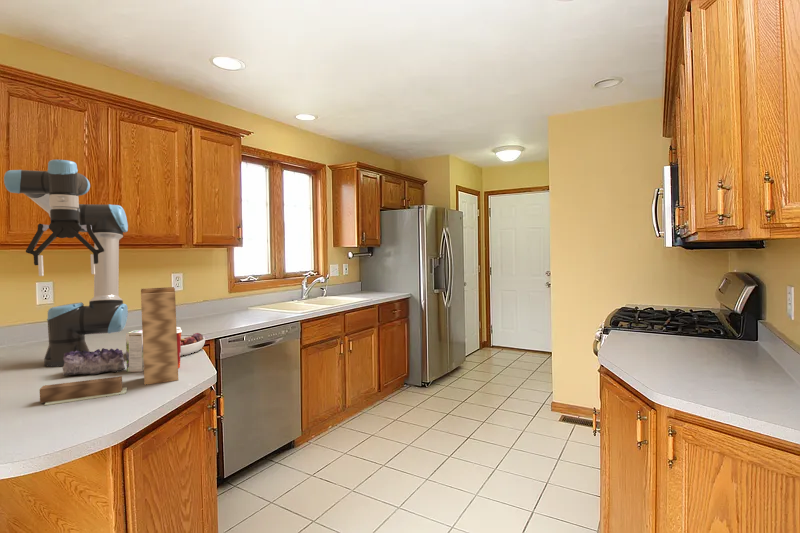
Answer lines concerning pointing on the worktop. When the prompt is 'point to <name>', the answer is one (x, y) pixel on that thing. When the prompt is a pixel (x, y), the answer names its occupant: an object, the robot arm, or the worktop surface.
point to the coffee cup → (178, 344)
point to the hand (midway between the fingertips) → (67, 275)
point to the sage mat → (86, 397)
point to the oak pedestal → (159, 335)
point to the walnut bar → (80, 389)
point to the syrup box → (134, 351)
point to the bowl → (191, 343)
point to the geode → (93, 362)
